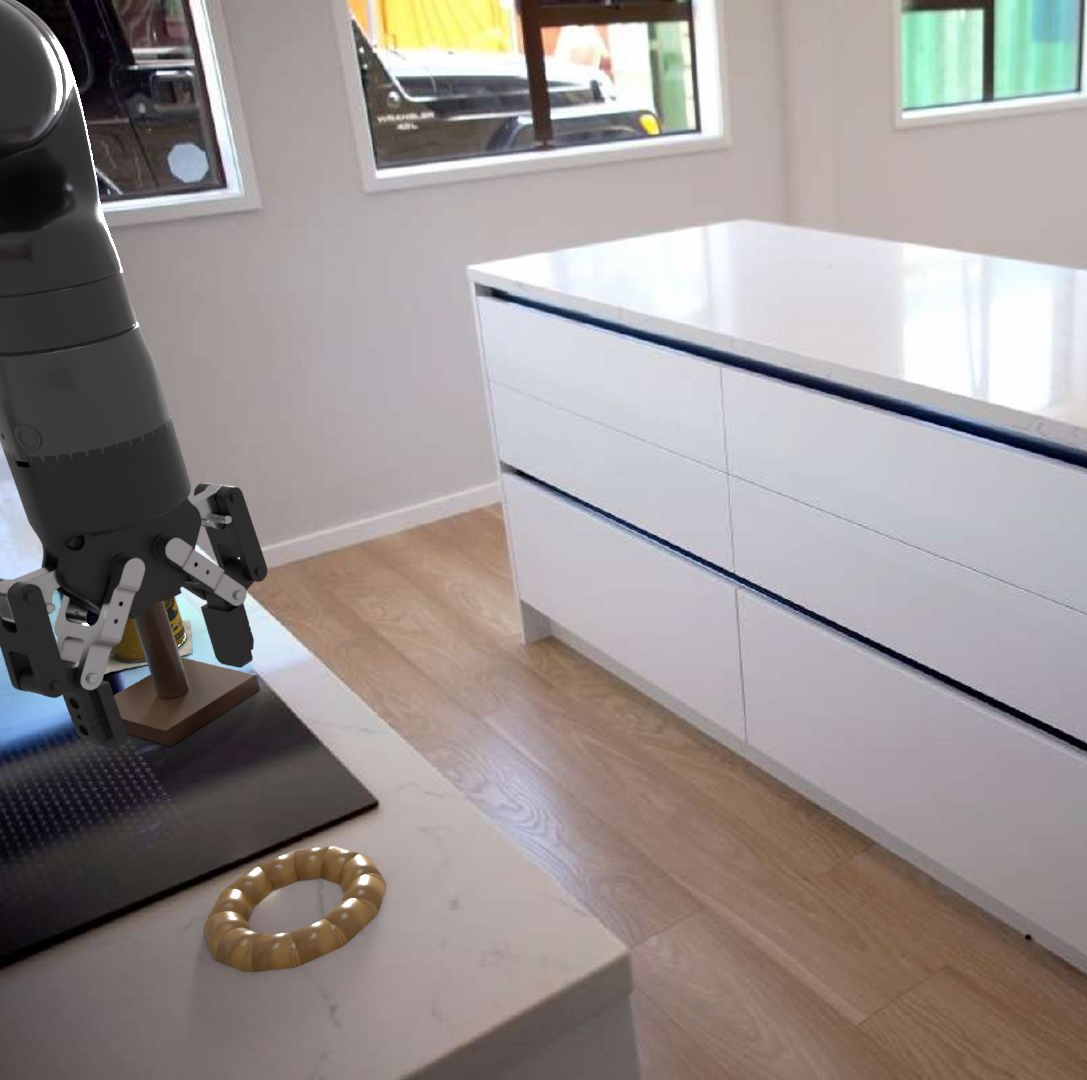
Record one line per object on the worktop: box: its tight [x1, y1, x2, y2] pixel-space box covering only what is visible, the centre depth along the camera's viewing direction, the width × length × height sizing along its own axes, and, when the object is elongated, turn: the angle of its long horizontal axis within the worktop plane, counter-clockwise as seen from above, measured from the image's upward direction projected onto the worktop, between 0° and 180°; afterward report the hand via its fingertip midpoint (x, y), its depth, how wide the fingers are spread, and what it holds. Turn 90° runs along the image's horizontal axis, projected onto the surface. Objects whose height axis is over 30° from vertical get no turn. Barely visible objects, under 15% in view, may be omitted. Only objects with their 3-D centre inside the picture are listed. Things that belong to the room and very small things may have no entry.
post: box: [113, 601, 261, 747], centre depth 100 cm, size 9×9×12 cm
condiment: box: [104, 596, 193, 675], centre depth 109 cm, size 7×8×12 cm
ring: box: [203, 845, 387, 973], centre depth 76 cm, size 10×10×2 cm
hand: (175, 701), depth 68 cm, fingers open, 8 cm apart
